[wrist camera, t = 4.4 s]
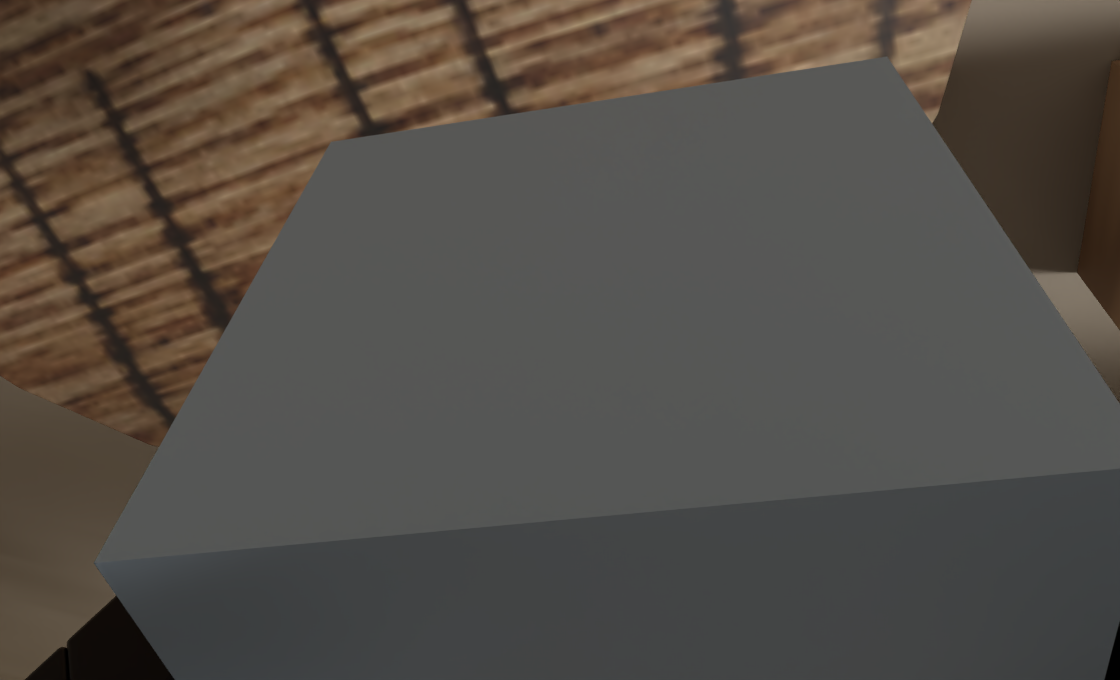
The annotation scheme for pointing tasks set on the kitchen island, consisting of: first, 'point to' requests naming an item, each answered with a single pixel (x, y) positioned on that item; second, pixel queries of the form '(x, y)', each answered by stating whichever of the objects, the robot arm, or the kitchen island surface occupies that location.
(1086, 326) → the kitchen island surface
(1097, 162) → the walnut block
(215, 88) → the trivet
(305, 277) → the slate block
